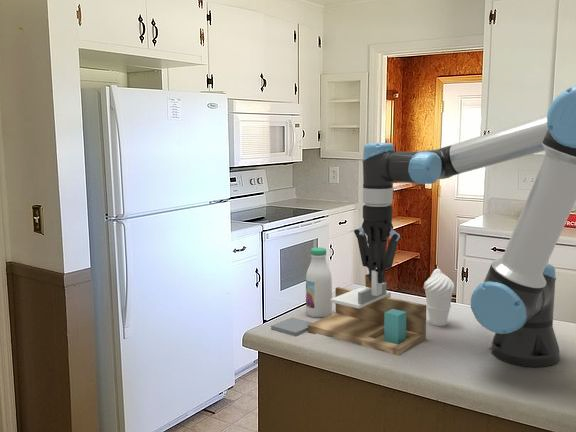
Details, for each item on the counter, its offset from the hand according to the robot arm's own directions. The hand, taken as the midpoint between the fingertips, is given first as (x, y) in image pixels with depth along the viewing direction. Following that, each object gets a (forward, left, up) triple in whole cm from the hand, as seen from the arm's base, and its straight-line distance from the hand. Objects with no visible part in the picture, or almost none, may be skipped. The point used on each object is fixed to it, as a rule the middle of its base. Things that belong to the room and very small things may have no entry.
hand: (376, 294), depth 148 cm
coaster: (+22, +7, -12) cm, 26 cm away
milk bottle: (+24, -7, -12) cm, 28 cm away
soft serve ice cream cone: (-8, -20, -12) cm, 25 cm away
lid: (+5, -1, -9) cm, 11 cm away
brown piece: (+3, 0, -12) cm, 13 cm away
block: (-6, 0, -12) cm, 13 cm away
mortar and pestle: (+13, -19, -12) cm, 26 cm away
